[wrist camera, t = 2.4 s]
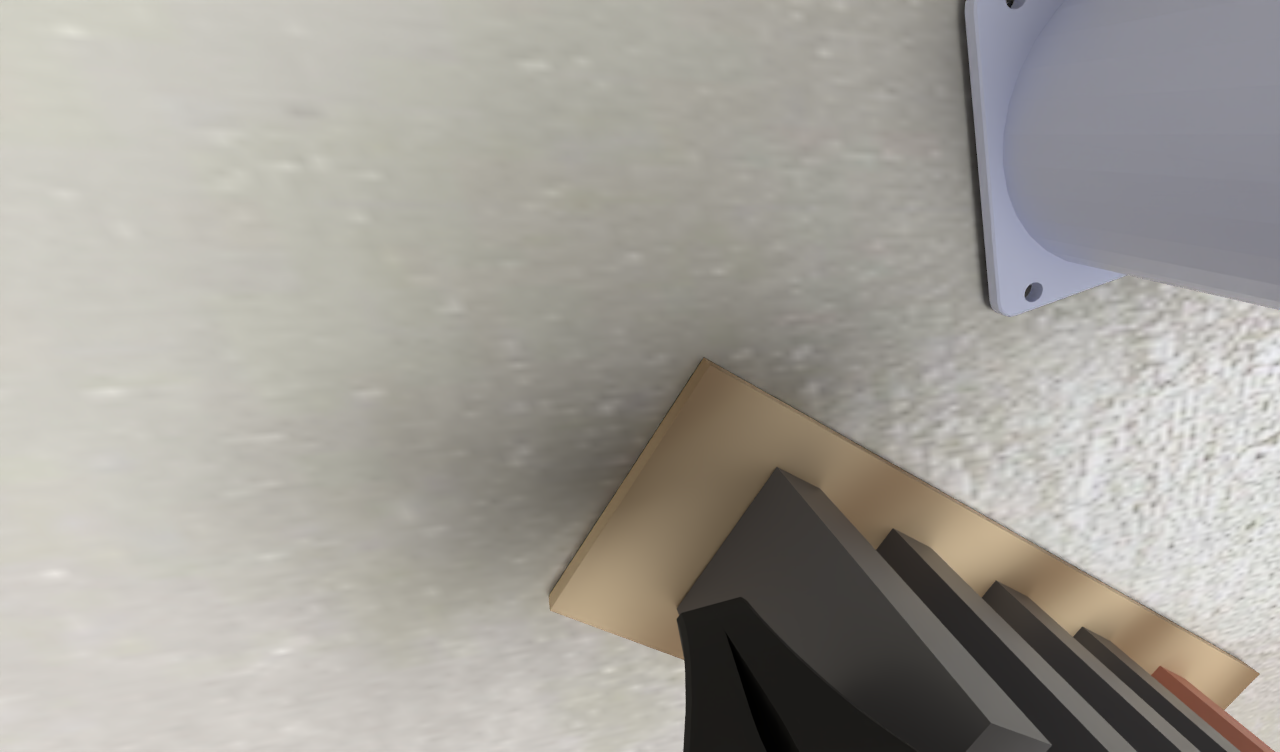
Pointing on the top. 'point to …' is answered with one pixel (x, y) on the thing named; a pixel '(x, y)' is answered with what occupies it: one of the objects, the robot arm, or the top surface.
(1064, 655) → the domino
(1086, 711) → the domino
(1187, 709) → the domino
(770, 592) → the domino
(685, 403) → the board
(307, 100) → the top surface
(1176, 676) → the domino
